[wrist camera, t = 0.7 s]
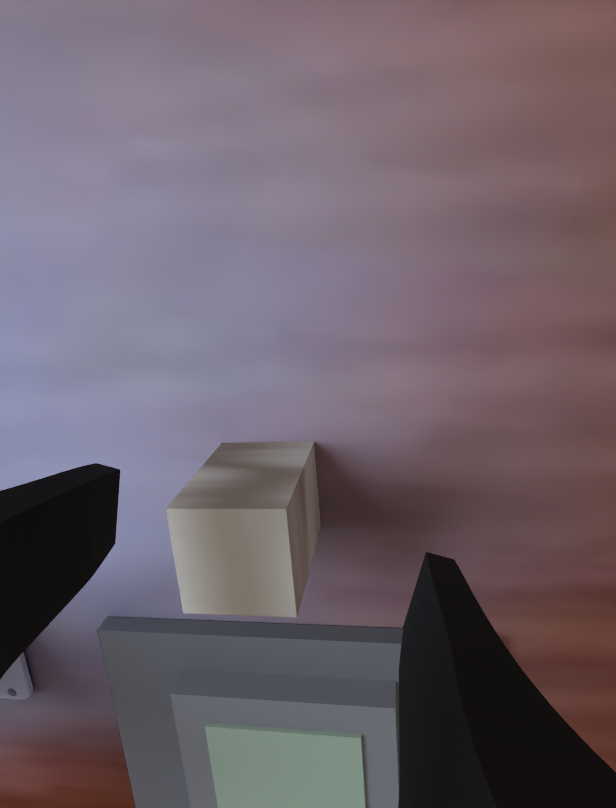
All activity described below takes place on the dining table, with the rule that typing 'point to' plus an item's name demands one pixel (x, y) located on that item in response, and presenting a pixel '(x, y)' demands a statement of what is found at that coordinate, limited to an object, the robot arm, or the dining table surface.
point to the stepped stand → (255, 712)
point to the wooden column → (247, 530)
